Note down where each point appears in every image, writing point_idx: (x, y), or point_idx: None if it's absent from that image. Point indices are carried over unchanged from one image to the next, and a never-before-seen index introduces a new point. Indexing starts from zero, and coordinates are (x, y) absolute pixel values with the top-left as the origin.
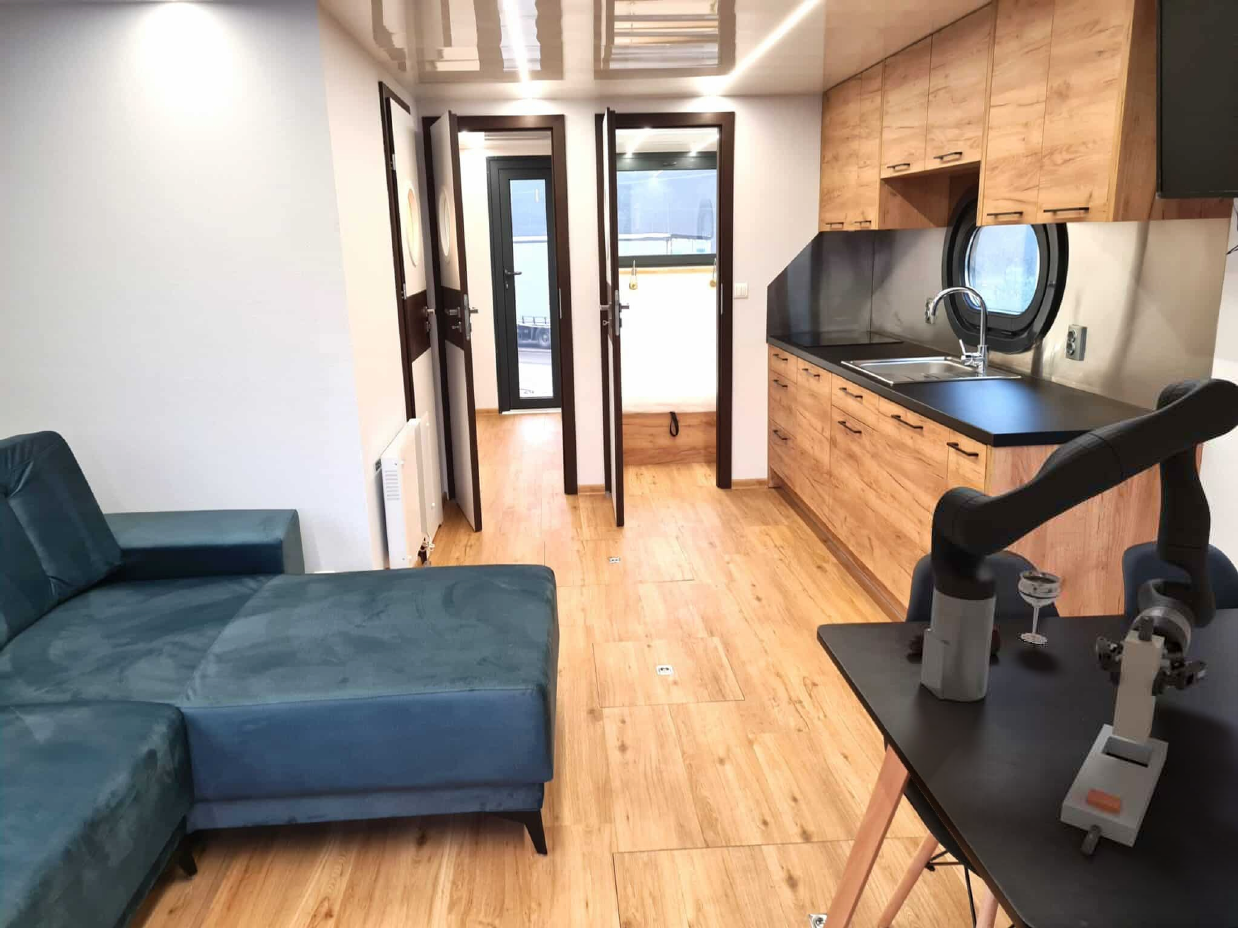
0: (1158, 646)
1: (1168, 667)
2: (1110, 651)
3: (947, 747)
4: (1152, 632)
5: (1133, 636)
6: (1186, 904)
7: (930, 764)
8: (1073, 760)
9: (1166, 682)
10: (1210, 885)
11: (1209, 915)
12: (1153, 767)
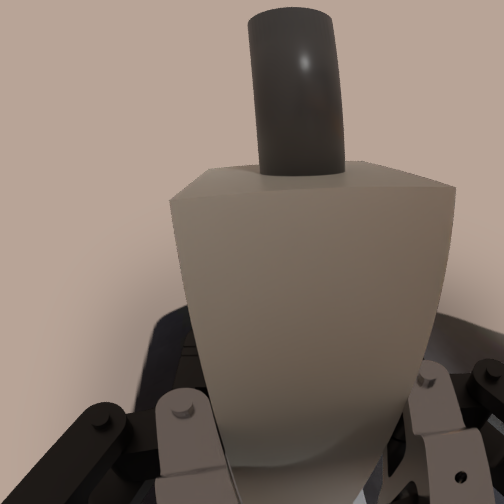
0: (213, 171)
1: (169, 442)
2: (501, 402)
3: (480, 358)
4: (255, 112)
5: (365, 170)
6: (185, 314)
7: (457, 327)
8: (375, 468)
9: (185, 346)
10: (163, 340)
11: (169, 313)
12: (232, 477)
